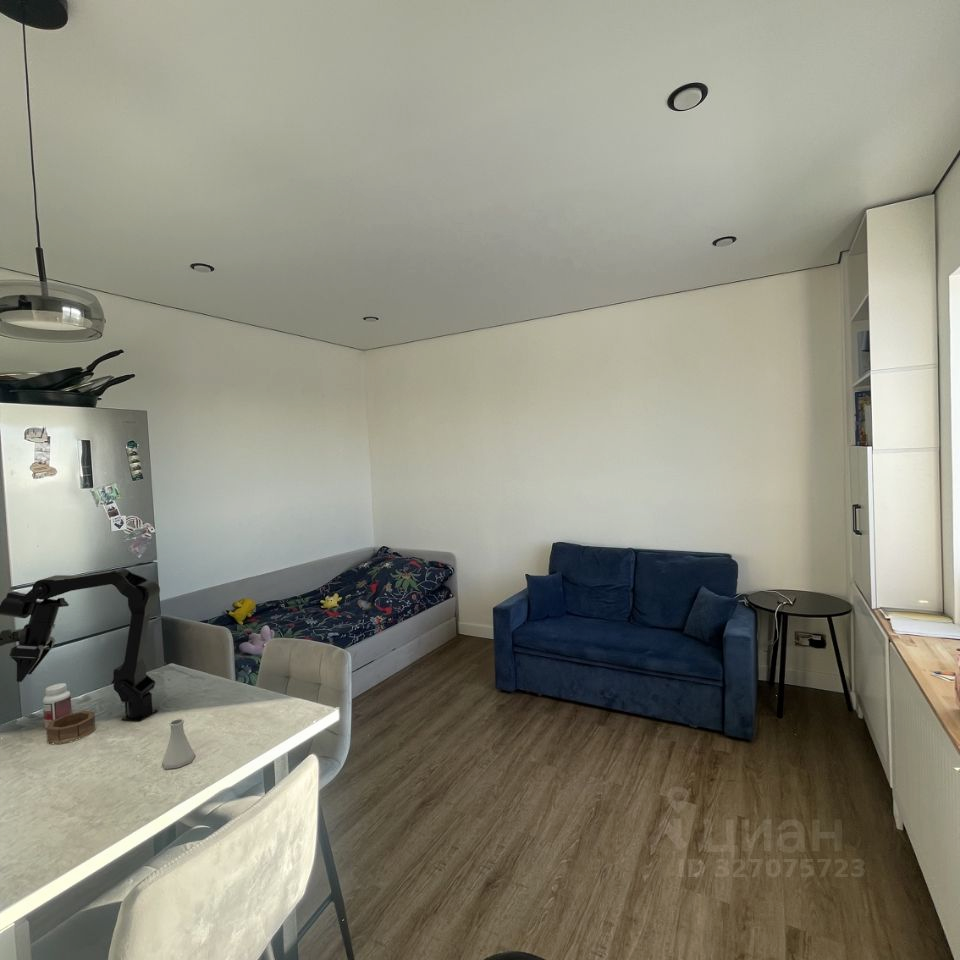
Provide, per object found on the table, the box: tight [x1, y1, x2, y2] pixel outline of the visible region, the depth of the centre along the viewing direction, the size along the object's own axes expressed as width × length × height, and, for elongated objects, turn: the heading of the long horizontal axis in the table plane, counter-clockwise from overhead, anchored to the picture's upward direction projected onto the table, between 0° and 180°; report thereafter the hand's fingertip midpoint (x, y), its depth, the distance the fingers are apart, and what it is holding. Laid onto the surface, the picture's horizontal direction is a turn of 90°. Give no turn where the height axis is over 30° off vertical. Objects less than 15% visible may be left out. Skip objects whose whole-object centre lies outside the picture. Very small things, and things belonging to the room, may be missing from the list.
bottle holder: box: [46, 710, 97, 745], centre depth 142 cm, size 10×10×4 cm
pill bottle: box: [42, 682, 73, 729], centre depth 148 cm, size 6×6×11 cm
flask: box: [161, 717, 196, 770], centre depth 126 cm, size 7×7×10 cm
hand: (23, 677), depth 143 cm, fingers open, 9 cm apart
